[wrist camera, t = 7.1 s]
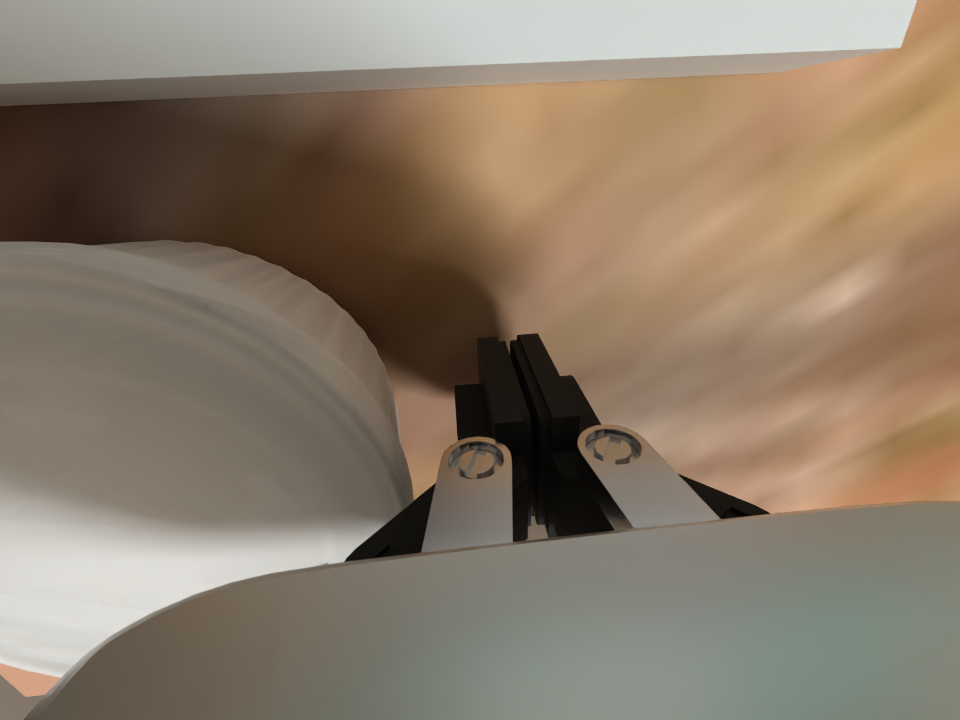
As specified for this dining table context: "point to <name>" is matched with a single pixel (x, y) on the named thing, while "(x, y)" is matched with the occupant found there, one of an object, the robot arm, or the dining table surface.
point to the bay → (407, 54)
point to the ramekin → (174, 435)
